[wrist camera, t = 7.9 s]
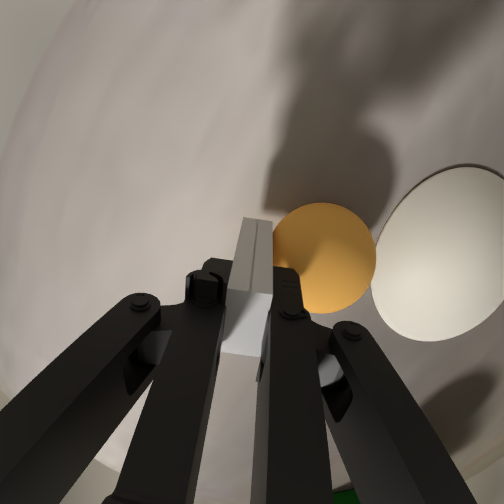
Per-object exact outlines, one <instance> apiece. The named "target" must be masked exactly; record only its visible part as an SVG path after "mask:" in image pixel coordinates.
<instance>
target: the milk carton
mask: <svg viewBox="0 0 504 504" xmlns="http://www.w3.org/2000/svg"><path fill="white" fill-rule="evenodd" d="M333 503H334V504H361V503H360V501H359V499H358V496H357V494H356V491H355V489H353V490H348V491H343V492H338V493H333Z"/></svg>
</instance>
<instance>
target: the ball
mask: <svg viewBox="0 0 504 504" xmlns="http://www.w3.org/2000/svg"><path fill="white" fill-rule="evenodd" d="M273 266H279V267H286V268H293V269H294V270H295V271H296V272H297V273H298V274H299V276H300V284H301V290H302V297H303V304H304V308H305V309H306V310H307V311H308V312H312V313H331V312H336V311H339V310H342V309H344V308H346V307H348V306H350V305H351V304H353V303H354V302H355V301H357V300H358V299H359V298H360V297H361V296H362V295H363V294H364V292H365V291H366V290H367V288H368V287H369V285H370V283H371V281H372V279H373V276H374V272H375V268H376V248H375V244H374V240H373V238H372V235H371V233H370V231H369V229H368V228H367V226H366V225H365V224H364V222H363V221H362V220H361V219H360V218H359V217H358V216H357V215H356V214H354V213H353V212H351V211H350V210H348V209H346V208H344V207H342V206H339V205H336V204H331V203H312V204H307V205H304V206H301V207H299V208H297V209H295V210H293V211H292V212H290V213H289V214H288V215H286V216H285V217H284V218H283V219H282V220H281V221H280V222H279V224H278V225H277V226H276V228H275V230H274V231H273Z"/></svg>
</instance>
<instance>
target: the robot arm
mask: <svg viewBox="0 0 504 504" xmlns="http://www.w3.org/2000/svg"><path fill="white" fill-rule="evenodd" d="M220 352H226V353H233V354H240V355H247V356H255V357H260V354H261V359H260V363H259V368H258V372H257V377H256V381H255V382H258V387H257V405H256V422H255V438H254V454H253V469H252V484H251V499H250V504H334V503H333V491H332V480H331V470H330V460H329V451H328V441H327V433H326V424H325V420H326V422H327V424H328V427H329V429H330V432H331V434H332V436H333V439H334V441H335V444H336V446H337V448H338V451H339V453H340V456H341V458H342V460H343V463H344V465H345V468H346V470H347V472H348V475H349V477H350V479H351V482H352V484H353V487H354V489H355V491H356V494H357V496H358V499H359V501H360V503H361V504H477V502H476V501H475V499H474V497H473V495H472V493H471V492H470V490H469V488H468V486H467V485H466V483H465V481H464V479H463V478H462V476H461V474H460V473H459V471H458V469H457V467H456V466H455V464H454V462H453V461H452V459H451V457H450V456H449V454H448V452H447V451H446V449H445V447H444V446H443V444H442V442H441V441H440V439H439V438H438V436H437V434H436V433H435V431H434V430H433V428H432V426H431V425H430V423H429V422H428V420H427V418H426V417H425V415H424V414H423V412H422V410H421V409H420V407H419V406H418V404H417V403H416V401H415V400H414V398H413V396H412V395H411V393H410V392H409V390H408V389H407V387H406V386H405V384H404V383H403V381H402V380H401V378H400V377H399V375H398V374H397V372H396V371H395V369H394V368H393V366H392V365H391V363H390V362H389V360H388V359H387V357H386V356H385V354H384V353H383V351H382V350H381V348H380V347H379V345H378V344H377V342H376V341H375V340H374V338H373V337H372V335H371V334H370V332H369V331H368V330H367V329H366V328H365V327H363V326H362V325H360V324H358V323H355V322H352V321H341V322H338V323H336V324H335V325H334V326H333V329H330V328H327V327H324V326H321V325H319V324H317V323H315V322H313V321H312V320H311V316H310V314H309V312H308V311H307V310H306V309H305V308H304V304H303V297H302V290H301V284H300V276H299V274H298V273H297V272H296V271H295V270H294V269H293V268H286V267H279V266H273V232H272V221H266V220H259V219H252V218H246V217H243V221H242V226H241V230H240V234H239V239H238V243H237V247H236V251H235V256H234V260H233V261H231V260H224V259H217V258H210V259H209V260H207V261H206V262H204V264H203V267H202V270H196V271H193V272H191V273H189V274H188V275H187V276H186V288H185V300H184V302H183V303H180V304H177V305H165V306H160V301H159V300H158V298H157V297H155V296H153V295H151V294H147V293H134V294H131V295H128V296H126V297H125V298H123V299H122V300H121V301H120V302H119V303H117V304H116V305H115V306H114V307H113V308H112V309H110V310H109V311H108V312H107V313H106V314H105V315H104V316H102V317H101V318H100V319H99V320H98V321H97V322H96V323H94V324H93V325H92V326H91V327H90V328H89V329H88V330H87V331H85V332H84V333H83V334H82V335H81V336H80V337H79V338H78V339H76V340H75V341H74V342H73V343H72V344H71V345H70V346H69V347H68V348H66V349H65V350H64V351H63V352H62V353H61V354H60V355H59V356H58V357H57V358H56V359H54V360H53V361H52V362H51V363H50V364H49V365H48V366H47V367H46V368H45V369H44V370H43V371H42V372H40V373H39V374H38V375H37V376H36V377H35V378H34V379H33V380H32V381H31V382H30V383H29V384H28V385H27V386H26V387H25V388H24V389H23V390H21V391H20V392H19V393H18V394H17V395H16V396H15V397H14V398H13V399H12V400H11V401H10V402H9V403H8V404H7V405H6V406H5V407H4V408H3V409H2V410H1V411H0V504H59V503H60V502H61V500H62V499H63V498H64V496H65V495H66V494H67V492H68V491H69V490H70V488H71V487H72V486H73V484H74V483H75V482H76V481H77V479H78V478H79V477H80V475H81V474H82V473H83V471H84V470H85V469H86V467H87V466H88V465H89V463H90V462H91V461H92V459H93V458H94V457H95V456H96V454H97V453H98V452H99V450H100V449H101V448H102V446H103V445H104V444H105V442H106V441H107V440H108V438H109V437H110V436H111V434H112V433H113V432H114V430H115V429H116V428H117V427H118V425H119V424H120V423H121V421H122V420H123V419H124V417H125V416H126V415H127V413H128V412H129V411H130V409H131V408H132V407H133V405H134V404H135V403H136V402H137V400H138V399H139V398H140V396H141V395H142V394H143V392H144V391H145V390H146V388H147V387H148V386H149V384H150V383H151V382H152V380H153V379H154V380H153V382H152V385H151V388H150V390H149V393H148V396H147V399H146V401H145V404H144V407H143V410H142V412H141V415H140V418H139V421H138V424H137V426H136V429H135V432H134V435H133V438H132V441H131V444H130V446H129V449H128V452H127V455H126V458H125V461H124V464H123V467H122V470H121V473H120V476H119V479H118V482H117V485H116V488H115V490H114V492H113V493H112V494H111V495H109V496H107V497H106V498H105V499H104V501H103V502H102V504H193V503H194V497H195V491H196V486H197V480H198V475H199V469H200V463H201V458H202V452H203V447H204V441H205V436H206V430H207V425H208V419H209V414H210V409H211V403H212V398H213V392H214V387H215V382H216V376H217V371H218V366H219V359H220Z"/></svg>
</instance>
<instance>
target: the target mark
mask: <svg viewBox="0 0 504 504" xmlns="http://www.w3.org/2000/svg"><path fill="white" fill-rule="evenodd" d="M375 248H376V268H375V272H374V276H373V279H372V281H371V290H372V296H373V299H374V302H375V305H376V308H377V310H378V312H379V314H380V316H381V317H382V318H383V320H384V321H385V322H386V324H387V325H388V326H390V327H391V328H392V329H393V330H394V331H396V332H397V333H399V334H400V335H403V336H405V337H407V338H410V339H414V340H419V341H439V340H445V339H449V338H452V337H455V336H458V335H460V334H463V333H465V332H467V331H469V330H470V329H472V328H474V327H475V326H477V325H478V324H480V323H481V322H482V321H484V320H485V319H486V318H487V317H488V316H489V315H491V314H492V313H493V312H494V311H495V310H496V309H497V307H498V306H499V305H500V304H501V303H502V302H503V300H504V180H503V179H501V178H500V177H499V176H497V175H495V174H493V173H491V172H489V171H487V170H483V169H480V168H474V167H460V168H454V169H450V170H446V171H443V172H441V173H438V174H436V175H434V176H432V177H430V178H429V179H427V180H425V181H423V182H422V183H421V184H420V185H418V186H417V187H416V188H414V189H413V190H412V191H411V192H410V193H409V194H408V195H407V196H406V197H405V198H404V199H403V200H402V201H401V202H400V204H399V205H398V206H397V207H396V209H395V210H394V211H393V213H392V214H391V216H390V217H389V219H388V220H387V222H386V224H385V226H384V228H383V230H382V232H381V234H380V236H379V239H378V241H377V244H376V247H375Z"/></svg>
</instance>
